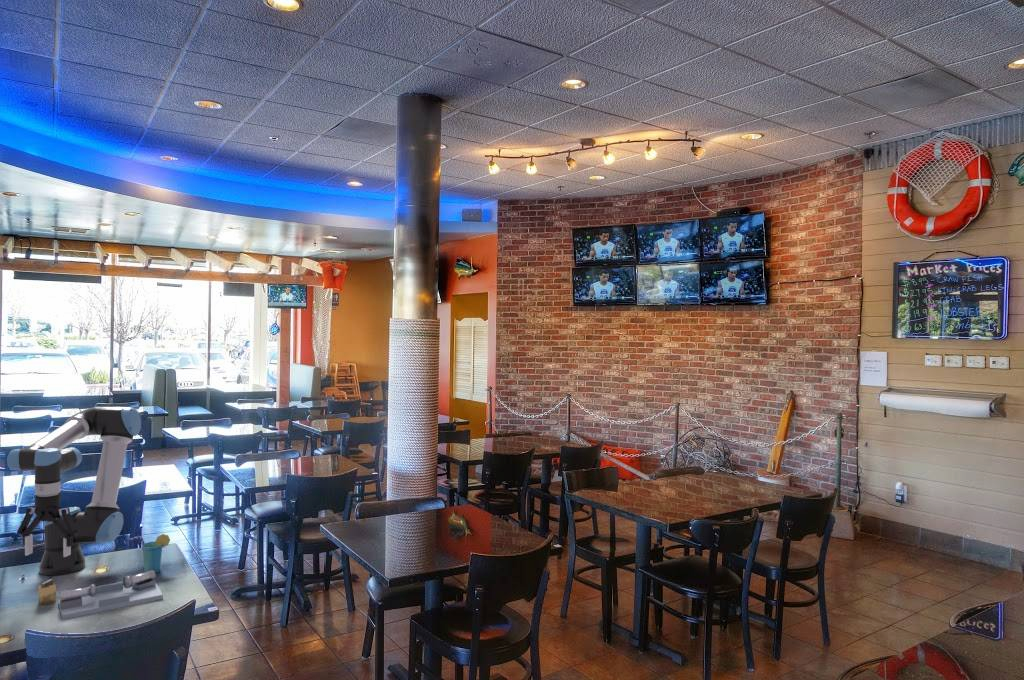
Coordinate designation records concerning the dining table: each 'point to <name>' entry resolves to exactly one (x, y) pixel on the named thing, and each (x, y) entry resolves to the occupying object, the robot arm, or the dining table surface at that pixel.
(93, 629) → the dining table surface
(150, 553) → the cup
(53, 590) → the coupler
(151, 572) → the shaft
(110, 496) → the robot arm
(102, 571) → the dining table surface
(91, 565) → the dining table surface
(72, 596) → the shaft
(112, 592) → the bench
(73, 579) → the dining table surface
